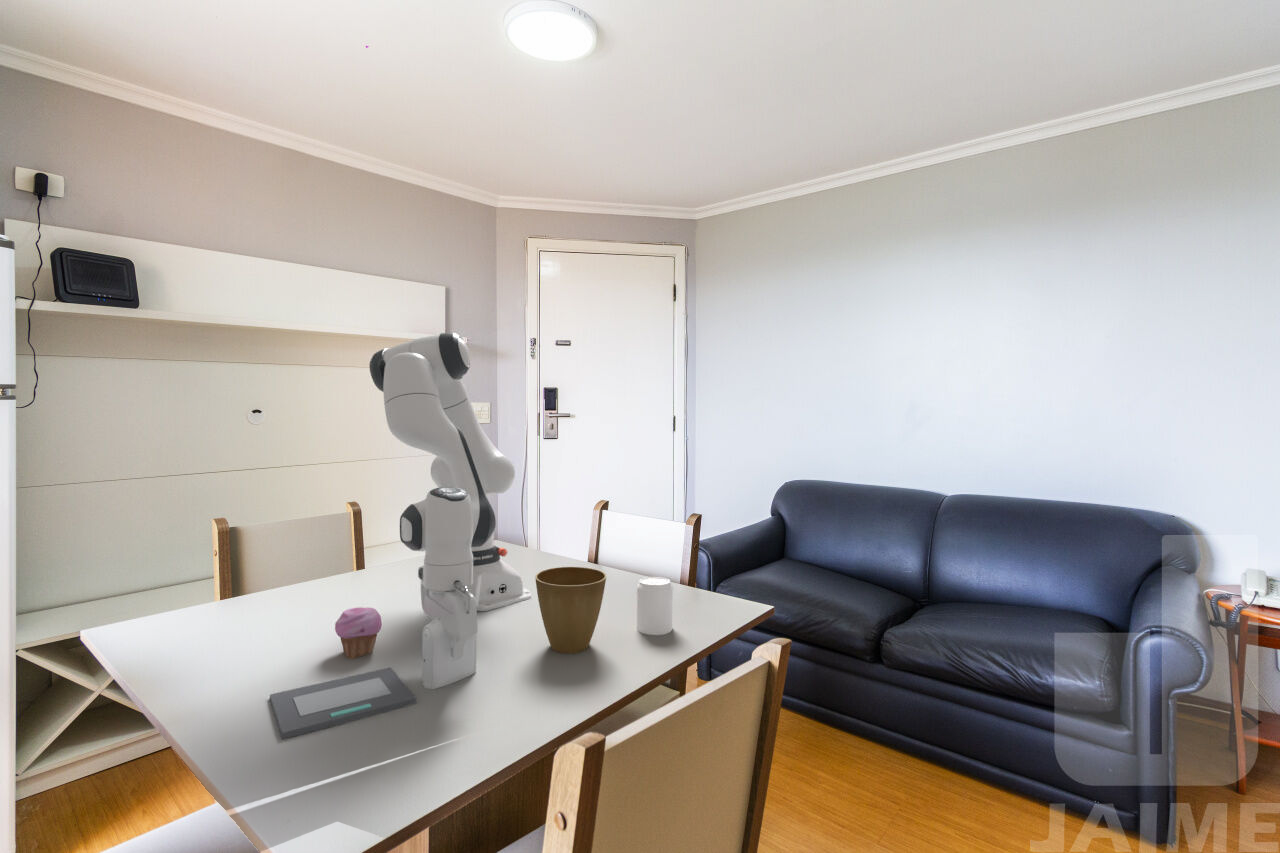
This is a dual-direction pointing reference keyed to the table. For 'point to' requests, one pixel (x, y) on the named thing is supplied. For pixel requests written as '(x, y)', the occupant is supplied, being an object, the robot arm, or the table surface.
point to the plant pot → (570, 605)
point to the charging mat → (339, 701)
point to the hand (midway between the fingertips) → (448, 649)
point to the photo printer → (444, 657)
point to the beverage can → (654, 606)
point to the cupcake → (358, 630)
